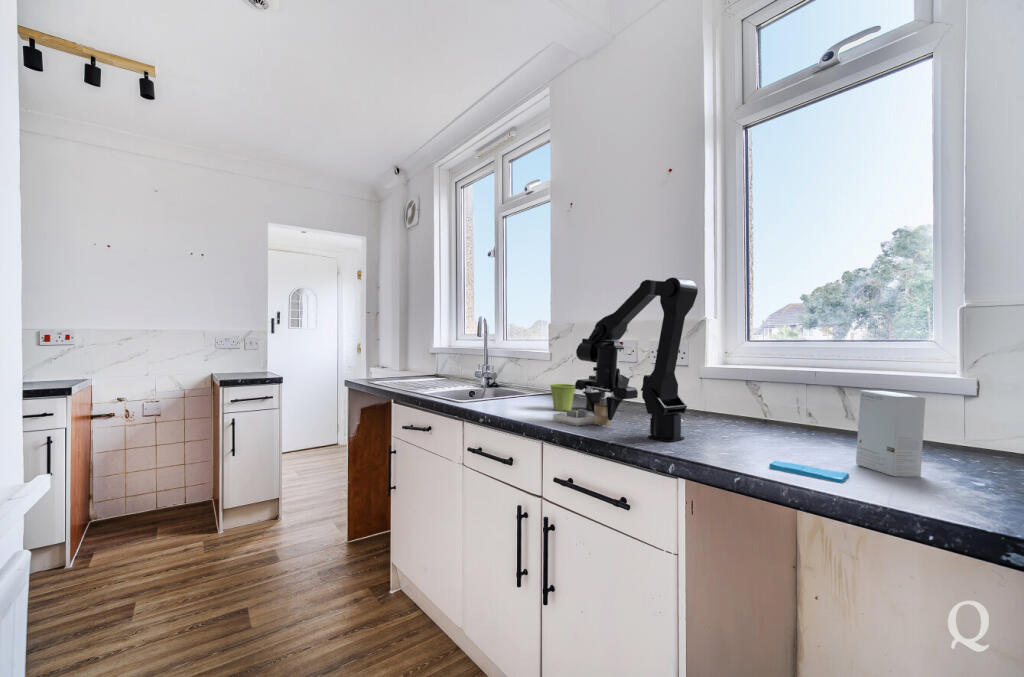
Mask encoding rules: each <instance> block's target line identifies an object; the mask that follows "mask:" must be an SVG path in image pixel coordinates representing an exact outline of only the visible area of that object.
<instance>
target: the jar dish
mask: <svg viewBox="0 0 1024 677" xmlns="http://www.w3.org/2000/svg"><path fill="white" fill-rule="evenodd" d="M552 421H553V422H556V421H557V423H560V422H562V423H561V424H565V423H567V424H566V425H570V424H571V425H570V426H575V425H576V426H575V427H581V426H580V425H582V426H587V425H586V424H589V425H594V424H593V423H594V413H593V414H592V413H588V410H586V409H579V408H578V409H577V410H576V411H575V410H571V411H566V412H560V413H553V415H552Z"/></svg>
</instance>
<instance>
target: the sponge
mask: <svg viewBox="0 0 1024 677" xmlns="http://www.w3.org/2000/svg"><path fill="white" fill-rule="evenodd" d="M768 467H769V469H771V470H774V471H779V472H784V473H789V474H795V475H800V476H806V477H810V478H815V479H819V480H826V481H830V482H834V483H835V482H836V483H840V484H843V483H844V482H845V481H847V480H848V479H849V477H850V474H849V473H847V472H844V471H835V470H831V469H826V468H825V469H824V468H823V469H822V468H819V467H815V466H809V465H804V464H797V463H793V462H788V461H787V462H785V461H779V460H774V461H772V462H770V463H769V466H768Z"/></svg>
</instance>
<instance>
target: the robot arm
mask: <svg viewBox="0 0 1024 677" xmlns="http://www.w3.org/2000/svg"><path fill="white" fill-rule="evenodd" d="M698 293H699V292H698V286H697V285H696V283H695V282H694V281H693V280H691V279H685V278H679V277H669V278H666V280H665V281H664V280H663V281H662V280H652V279H645V280H643V281H642V282H641V283H640V284H639V287H637V288H636V290H635V291H633V293H632V294H630V296H629V297H628V298H627V299H626V300H624V302H623V303H622V304H621V305H620V306H619V307H618V308H617V309H616V310H615V311H614V312H612V313H611V314H609V315H606V316H604V317H602V318H601V319H600V320H598V321H596V324H595V325H594V328H593V330H592V332H591V334H590V335H589V337H588V338H582V339H581V342H580V343H579V344H578V345H577V348H576V358H578V360H580V361H583V362H584V361H585V362H589V363H596V366H593V368H592V369H593V370H592V371H594V372H595V376H596V380H590V379H589V378H584V379H577V380H576V381H575V384H574V385H575V390H579V391H582V394H584V395H585V398H586V397H587V399H588V401H589V403H590V406H591V408H592V411H591V412H592V413H593V414H594V403H600V397H601V395H602V393H603V392H600V391H604V392H605V393H608V394H609V393H610V396H605V400H606V404H607V413H608V420H611V421H612V420H613V418H614V417H615V414H616V411H617V409H618V407H619V405H620V404H621V402H622V401H623V400H629V399H631V400H632V399H638V393H639V391H638V390H637V388H636V387H633V386H628V385H629V384H630V383H629V382H630V381H631V380H630V378H629V377H626V376H625V375H623V374H621V370H620V368H618V366H617V365H618V351H620V350H624V349H625V347H624V345H622V344H621V343H620V341H619V340H621V339H622V337H623V336H624V334H625V333H626V332H627V330H628V325H629V324H630V322H632V320H633V319H635V317H637V315H639V314H640V312H641V313H642V311H643V310H644V309H645V308H646V307H647V306H648V305H649V304H650V303H651V302H652V301H653V300H654V299H655V298H656V297H658V296H659V297H660V299H659V302H660V305H661V308H662V311H663V318H662V321H661V322H662V323H661V324H662V325H661V330H660V334H659V339H658V344H657V345H658V346H657V350H656V355H655V356H656V357H655V362H654V368H653V371H652V372H651V373H650V374H644V375H643V379H642V387H641V388H640V391H641V392H642V393H641V397H642V400H643V402H644V405H645V409H646V413H647V414H650V415H651V417H650V419H649V420H650V421H649V423H650V424H649V434H648V435H647V438H648V439H649V438H650V439H653V440H659V441H663V442H669V443H670V442H676V441H680V440H685V436H683V435H682V415H685V414H686V411H687V408H688V406H687V404H686V403H685V401H684V400H683V399H682V397H681V396H680V395H679V383H678V380H677V378H676V374H675V372H676V368H677V367H676V366H677V361H678V356H679V350H680V345H681V340H682V335H683V330H684V324H685V318H686V316H687V315H688V313H689V312H690V311H691V310H692V308H693V307H694V304H695V301H696V298H697V295H698ZM583 390H584V391H583Z"/></svg>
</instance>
